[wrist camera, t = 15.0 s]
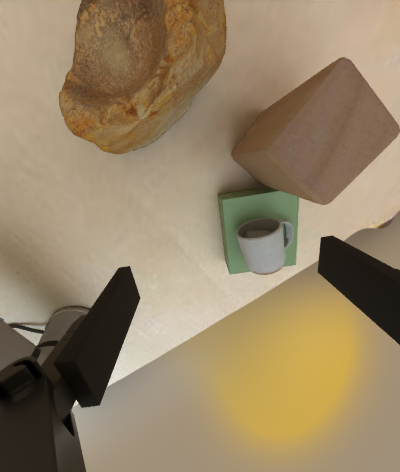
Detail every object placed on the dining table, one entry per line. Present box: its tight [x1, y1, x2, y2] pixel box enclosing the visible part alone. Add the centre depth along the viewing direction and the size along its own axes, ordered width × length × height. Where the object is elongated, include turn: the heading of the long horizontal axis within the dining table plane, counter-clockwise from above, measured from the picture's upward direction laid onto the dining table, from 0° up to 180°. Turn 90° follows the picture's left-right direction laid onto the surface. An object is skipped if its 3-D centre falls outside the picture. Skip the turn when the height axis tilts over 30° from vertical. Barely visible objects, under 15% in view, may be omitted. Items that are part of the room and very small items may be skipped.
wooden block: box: [232, 57, 400, 205], centre depth 28 cm, size 10×10×20 cm
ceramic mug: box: [236, 218, 294, 275], centre depth 34 cm, size 11×8×8 cm
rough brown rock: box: [59, 0, 226, 154], centre depth 26 cm, size 23×17×15 cm
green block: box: [218, 187, 299, 274], centre depth 40 cm, size 14×16×6 cm
